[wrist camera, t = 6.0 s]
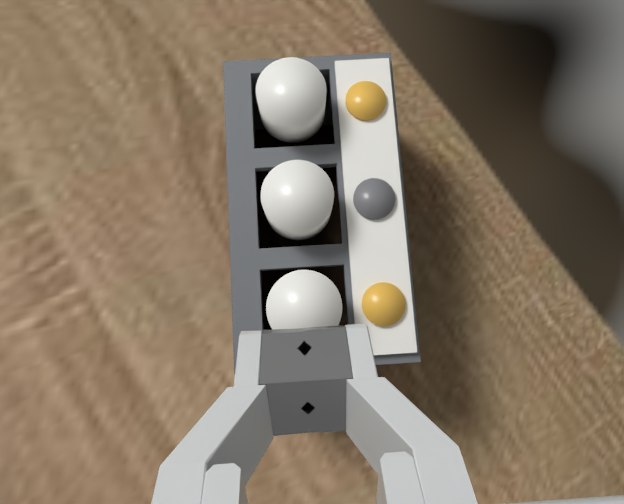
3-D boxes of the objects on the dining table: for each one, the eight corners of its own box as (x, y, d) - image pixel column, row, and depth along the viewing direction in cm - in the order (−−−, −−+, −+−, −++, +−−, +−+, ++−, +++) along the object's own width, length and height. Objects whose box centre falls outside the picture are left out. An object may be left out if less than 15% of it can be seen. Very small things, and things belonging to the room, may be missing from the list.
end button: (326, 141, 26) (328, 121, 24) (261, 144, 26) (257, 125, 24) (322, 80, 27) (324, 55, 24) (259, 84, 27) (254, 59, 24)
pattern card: (415, 352, 24) (418, 352, 24) (356, 355, 24) (358, 356, 24) (387, 61, 27) (389, 55, 26) (334, 63, 27) (334, 58, 26)
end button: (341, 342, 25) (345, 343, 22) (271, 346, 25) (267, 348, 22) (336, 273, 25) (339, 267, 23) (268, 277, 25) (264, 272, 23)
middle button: (333, 238, 26) (336, 228, 23) (266, 242, 25) (262, 233, 23) (329, 173, 26) (331, 157, 24) (263, 177, 26) (258, 161, 24)
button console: (392, 353, 32) (420, 361, 24) (252, 362, 32) (234, 374, 24) (371, 115, 35) (390, 52, 27) (242, 122, 34) (223, 61, 27)
